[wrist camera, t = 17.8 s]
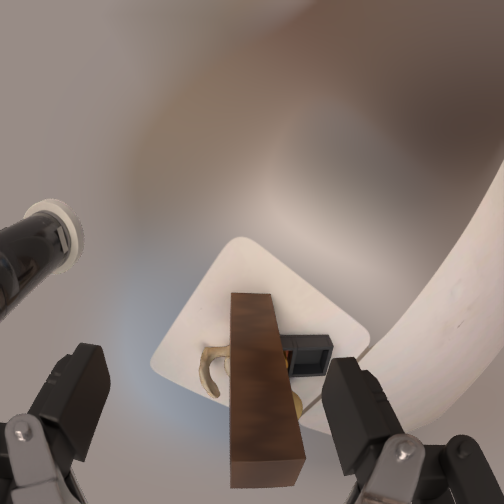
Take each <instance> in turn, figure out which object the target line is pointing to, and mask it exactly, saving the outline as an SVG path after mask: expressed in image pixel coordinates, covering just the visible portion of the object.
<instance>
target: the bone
mask: <svg viewBox="0 0 504 504" xmlns="http://www.w3.org/2000/svg"><path fill="white" fill-rule="evenodd" d="M221 356H223V357H226V358H225V361H224V367H225V371H226V373H227V375H228V376H229V377H230V345H229V346H226V347H212V348H209V347H205V348H204V351H203V353H202V356H201V360H200V367H199V376H200V381H201V384H202V386H203V388H204V389H206V391H207V393H208V394H209V395H210V396H211V397H212V398H218V397H219V396H220V392H219V390H218V387H217V385H216V383H215V382H214V381H213V380H212V379H211V376H210V373H209V366H210V363H211V362H212V360H214V359H215V358H217V357H221Z"/></svg>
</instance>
